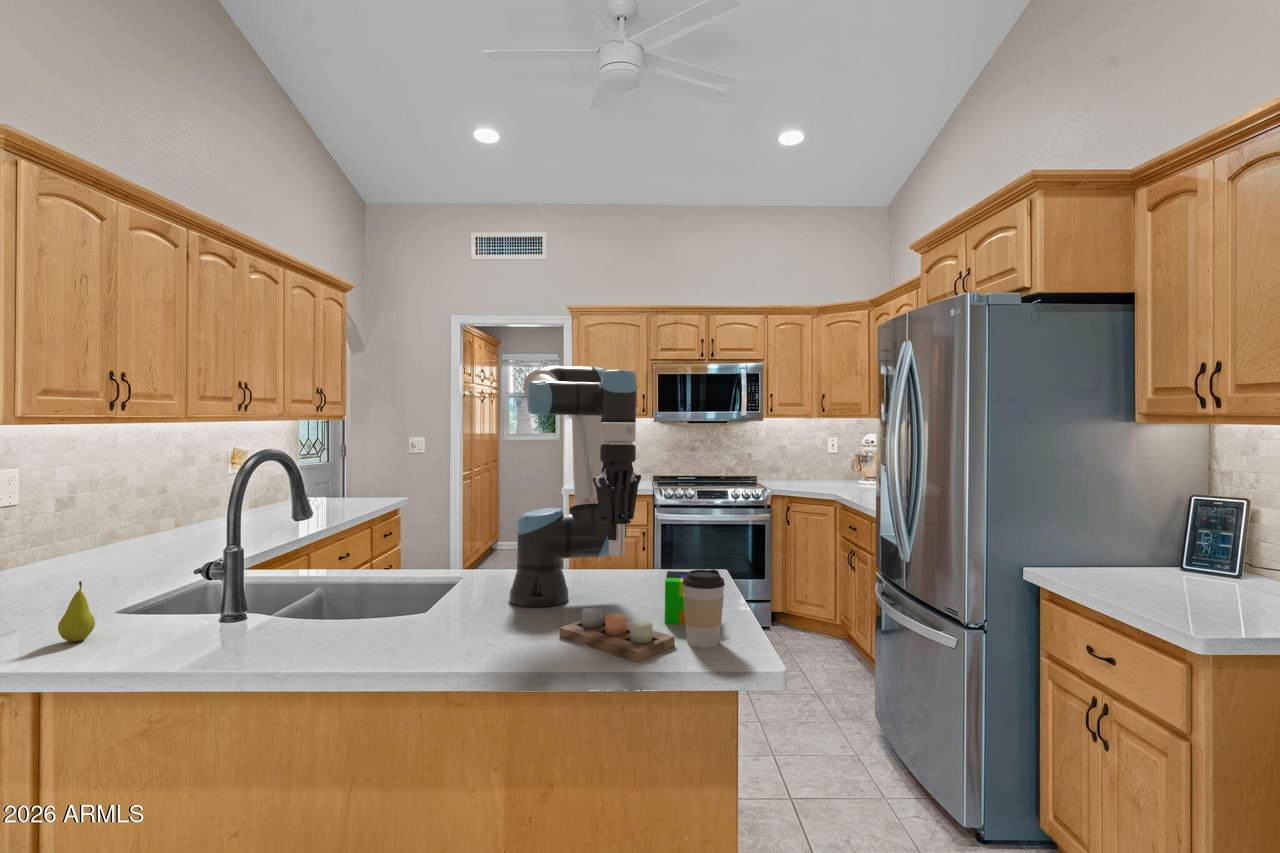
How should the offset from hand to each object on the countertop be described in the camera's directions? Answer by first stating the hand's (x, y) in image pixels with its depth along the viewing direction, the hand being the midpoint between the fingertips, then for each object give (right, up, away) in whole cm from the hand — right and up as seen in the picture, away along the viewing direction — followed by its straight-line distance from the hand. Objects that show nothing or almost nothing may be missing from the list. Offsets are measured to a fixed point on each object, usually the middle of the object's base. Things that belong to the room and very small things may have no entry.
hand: (616, 554), depth 133 cm
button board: (0, -18, 0) cm, 18 cm away
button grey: (-6, -17, +5) cm, 18 cm away
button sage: (+5, -17, -4) cm, 18 cm away
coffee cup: (+18, -19, 0) cm, 26 cm away
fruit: (-111, -17, -4) cm, 113 cm away
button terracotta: (0, -17, 0) cm, 17 cm away
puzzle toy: (+16, -19, +16) cm, 30 cm away
